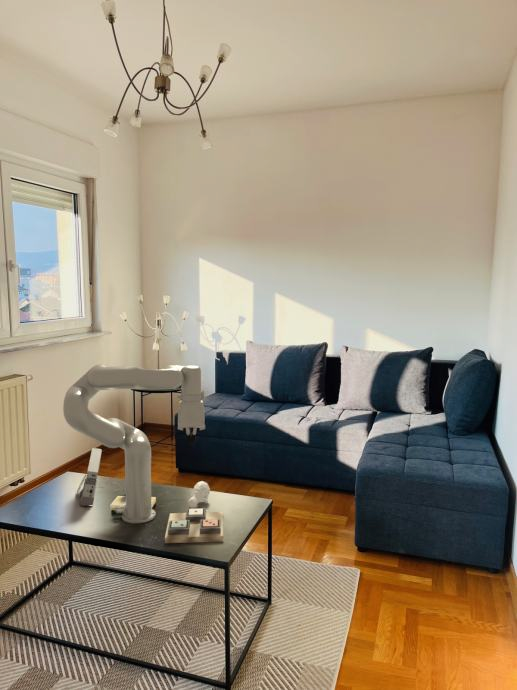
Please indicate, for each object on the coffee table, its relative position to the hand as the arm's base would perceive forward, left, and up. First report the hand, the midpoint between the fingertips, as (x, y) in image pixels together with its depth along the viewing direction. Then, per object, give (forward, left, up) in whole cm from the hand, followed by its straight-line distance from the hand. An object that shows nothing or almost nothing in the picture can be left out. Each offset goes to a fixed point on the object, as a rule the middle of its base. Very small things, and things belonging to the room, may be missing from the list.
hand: (191, 444), depth 208 cm
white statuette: (+2, +5, -27) cm, 28 cm away
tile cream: (+2, -11, -25) cm, 27 cm away
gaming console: (-44, +15, -27) cm, 54 cm away
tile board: (+2, -17, -27) cm, 32 cm away
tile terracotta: (+8, -21, -25) cm, 33 cm away
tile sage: (-3, -21, -25) cm, 33 cm away
